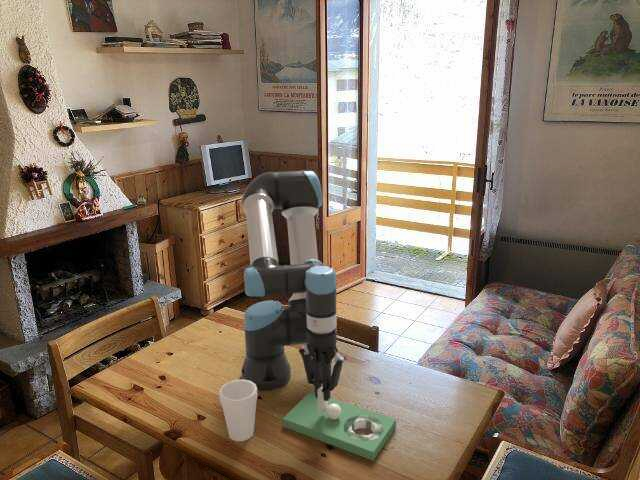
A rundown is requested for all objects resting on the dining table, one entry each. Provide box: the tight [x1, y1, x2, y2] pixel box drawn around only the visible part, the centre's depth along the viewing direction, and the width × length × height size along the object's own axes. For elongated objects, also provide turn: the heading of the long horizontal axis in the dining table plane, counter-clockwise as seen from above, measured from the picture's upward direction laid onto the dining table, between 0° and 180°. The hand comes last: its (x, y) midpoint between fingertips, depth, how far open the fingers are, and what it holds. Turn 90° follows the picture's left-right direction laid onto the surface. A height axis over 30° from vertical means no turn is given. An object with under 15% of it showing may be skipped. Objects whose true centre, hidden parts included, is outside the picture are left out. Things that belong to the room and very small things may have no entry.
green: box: [282, 391, 397, 461], centre depth 136 cm, size 26×14×2 cm, turn 60°
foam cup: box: [218, 378, 258, 442], centre depth 133 cm, size 10×9×13 cm
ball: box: [326, 404, 341, 420], centre depth 136 cm, size 4×4×4 cm
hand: (322, 409), depth 137 cm, fingers closed
